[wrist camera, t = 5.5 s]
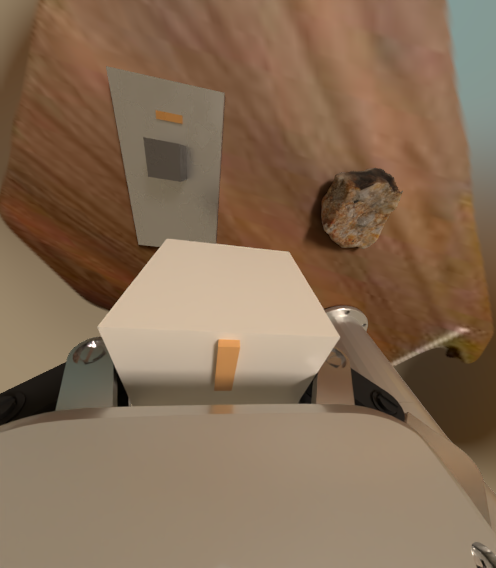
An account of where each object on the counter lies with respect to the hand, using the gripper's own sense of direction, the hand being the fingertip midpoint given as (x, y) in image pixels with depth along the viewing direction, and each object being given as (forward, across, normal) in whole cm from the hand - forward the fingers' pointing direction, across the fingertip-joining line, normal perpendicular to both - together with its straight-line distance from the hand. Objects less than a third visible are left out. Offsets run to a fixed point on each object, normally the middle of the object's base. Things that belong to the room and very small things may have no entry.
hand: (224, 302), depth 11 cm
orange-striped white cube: (+1, 0, 0) cm, 1 cm away
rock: (+16, -16, -4) cm, 23 cm away
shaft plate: (+17, +6, -4) cm, 18 cm away
